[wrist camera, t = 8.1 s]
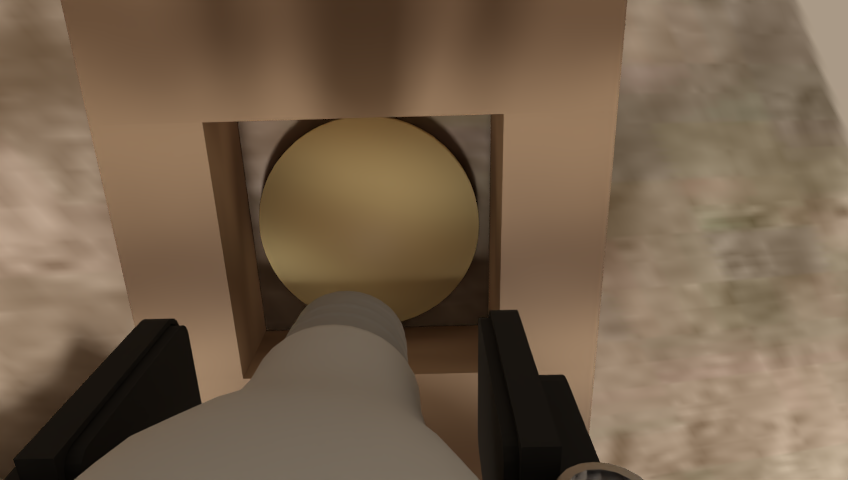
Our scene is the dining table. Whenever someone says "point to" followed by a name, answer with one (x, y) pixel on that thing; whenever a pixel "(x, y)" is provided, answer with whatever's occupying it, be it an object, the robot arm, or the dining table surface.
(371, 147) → the holder
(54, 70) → the dining table surface
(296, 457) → the lightbulb
